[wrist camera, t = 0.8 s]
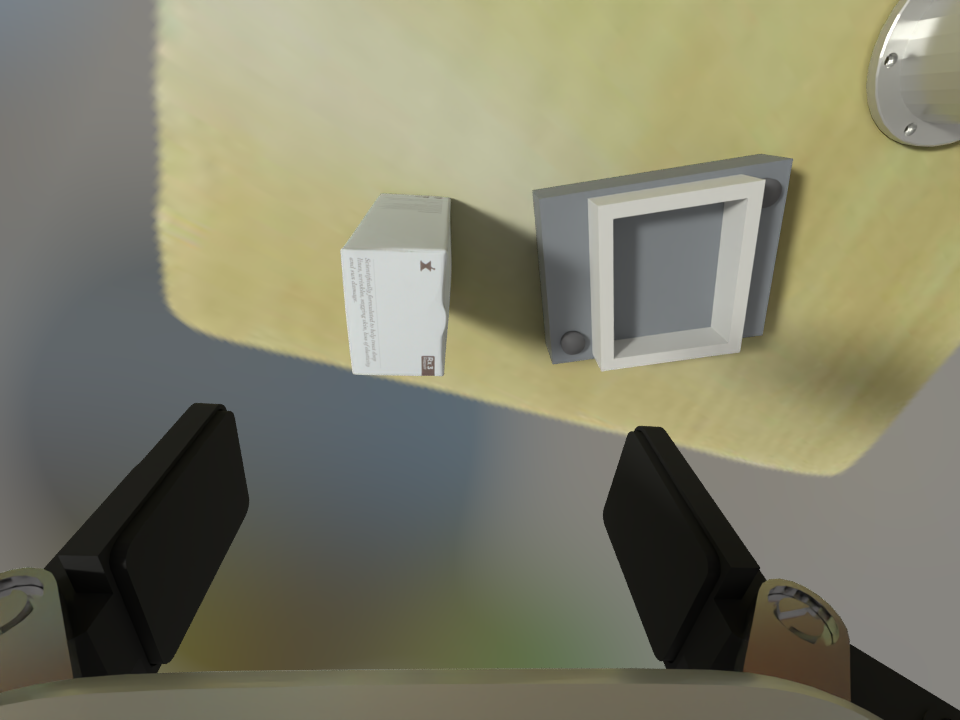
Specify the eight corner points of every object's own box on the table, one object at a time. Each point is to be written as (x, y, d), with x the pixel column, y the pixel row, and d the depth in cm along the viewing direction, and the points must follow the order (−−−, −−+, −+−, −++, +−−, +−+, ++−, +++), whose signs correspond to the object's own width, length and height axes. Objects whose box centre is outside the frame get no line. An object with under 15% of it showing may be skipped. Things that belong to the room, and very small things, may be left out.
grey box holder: (761, 153, 35) (821, 163, 29) (738, 316, 42) (783, 351, 36) (532, 190, 36) (545, 206, 30) (545, 343, 43) (558, 382, 37)
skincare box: (380, 191, 36) (330, 238, 23) (455, 196, 36) (448, 244, 23) (384, 291, 40) (344, 377, 27) (452, 294, 41) (445, 381, 28)
